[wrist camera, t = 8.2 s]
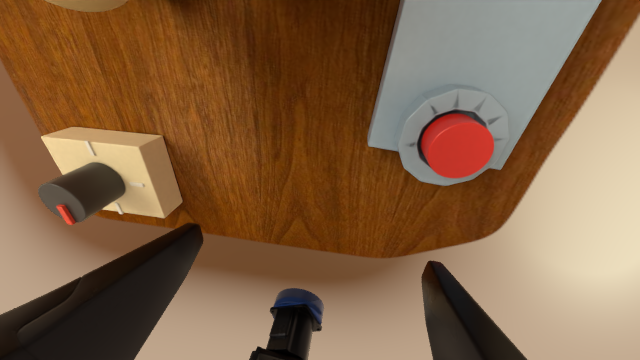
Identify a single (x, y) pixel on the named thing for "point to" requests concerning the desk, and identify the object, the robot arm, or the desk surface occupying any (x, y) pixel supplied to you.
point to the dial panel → (122, 166)
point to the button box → (471, 71)
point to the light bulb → (89, 4)
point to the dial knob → (82, 192)
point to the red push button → (457, 146)
